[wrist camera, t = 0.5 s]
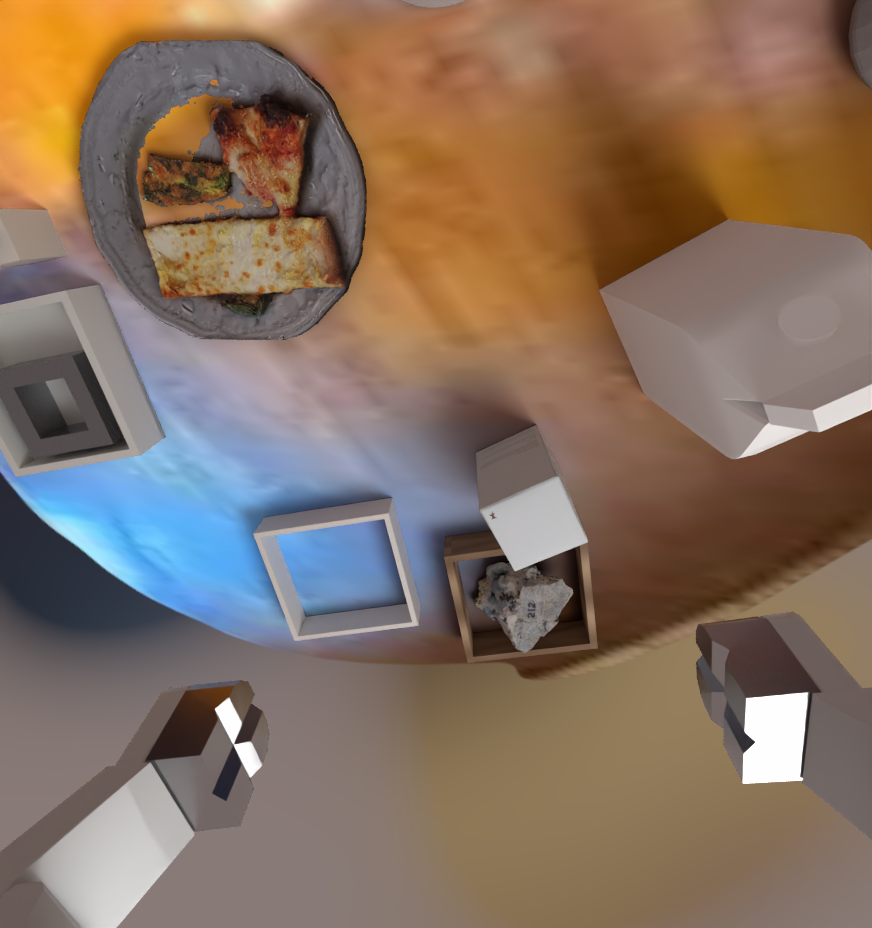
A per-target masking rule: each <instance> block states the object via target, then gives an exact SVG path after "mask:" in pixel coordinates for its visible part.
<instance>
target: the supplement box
mask: <svg viewBox="0 0 872 928" xmlns="http://www.w3.org/2000/svg"><path fill="white" fill-rule="evenodd" d="M476 467H477V483H478V498H479V511H480V513H481V514H482V516H483V518H484V519H485V521H486V523H487V524H488V526H489V528H490V530H491V531H492V533H493V535H494V536H495V538H496V540H497V541H498V543H499V545H500V546H501V548H502V550H503V552H504V553H505V555H506V557H507V559H508V560H509V562H510V564H511V566H512V568H513V569H514V571H517V570H520V569H522V568H525V567H527V566H530V565H532V564H535V563H537V562H539V561H542V560H544V559H547V558H550V557H552V556H554V555H557V554H559V553H562V552H564V551H567V550H570V549H572V548H575V547H577V546H580V545H582V544H585V543H587V542H588V539H587V537H586V534H585V532H584V529H583V527H582V524H581V522H580V520H579V517H578V515H577V512H576V510H575V507H574V505H573V502H572V500H571V497H570V494H569V491H568V489H567V486H566V484H565V481H564V479H563V477H562V475H561V473H560V471H559V469H558V466H557V464H556V462H555V460H554V458H553V456H552V454H551V452H550V450H549V448H548V446H547V444H546V442H545V440H544V438H543V436H542V434H541V432H540V430H539V428H538V426H537V425H535V426H533V427H530V428H528V429H526V430H524V431H522V432H519V433H517V434H515V435H513V436H511V437H509V438H506V439H504V440H502V441H500V442H498V443H496V444H494V445H491V446H489V447H487V448H485V449H483V450H481V451H479V452H476Z"/></svg>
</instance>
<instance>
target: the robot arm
mask: <svg viewBox="0 0 872 928" xmlns="http://www.w3.org/2000/svg"><path fill="white" fill-rule="evenodd" d="M402 1H404V2H406V3H409V4H412V5H416V6H422V7H432V8H433V7H445V6H450V5H454V4H457V3H460V2H463V1H465V0H402ZM696 643H697V645H698V647H699V649H700V651H701V653H702V656H701V657H700V658H699V659H698V661H697V662H696V669H697V680H698V685H699V689H700V694H701V697H702V700H703V702H704V705H705V707H706V709H707V712H708V714H709V716H710V718H711V720H712V721H713V722H715V723H716V724H718V725H719V726H721V727H722V728H723V729H724V747H725V749H726V751H727V752H728V755H729V757H730V759H731V761H732V762H733V765H734V766H735V768H736V771H737V773H738V774H739V776H740V778H741V780H742V782H743V783H757V782H775V781H793V780H802V783H803V784H804V785H805V786H807V787H808V788H809V789H811V790H812V791H813V792H814V793H815V794H817V795H818V796H819V797H820V798H821V799H823V800H824V801H825V802H826V803H828V804H829V805H830V806H831V807H833V808H834V809H835V810H836V811H837V812H839V813H840V814H841V815H842V816H844V817H845V818H846V819H847V820H848V821H850V822H851V823H852V824H853V825H854V826H856V827H857V828H858V829H859V830H861V831H862V832H863V833H865V834H866V835H867V836H868V837H869V838H870V839H872V688H862V687H861V686H860V685H859V684H858V683H857V682H856V681H855V679H854V678H853V677H852V676H851V675H850V674H849V672H848V671H847V670H846V669H845V668H844V666H843V665H842V664H841V663H840V662H839V661H838V659H837V658H836V657H835V656H834V655H833V654H832V652H831V651H830V650H829V649H828V648H827V647H826V645H825V644H824V643H823V642H822V641H821V639H820V638H819V637H818V636H817V635H816V634H815V632H814V631H813V630H812V629H811V628H810V627H809V626H808V624H807V623H806V622H805V621H804V620H803V618H802V617H801V616H800V615H798V614H796V613H795V612H786V613H779V614H772V615H765V616H761V617H751V618H743V619H736V620H728V621H720V622H712V623H705V624H698V626H697V629H696ZM254 695H255V694H254V692H253V690H252V688H251V686H250V684H249V682H248V681H242V680H238V681H228V682H217V683H207V684H196V685H192V686H181V687H170V688H168V689H167V690H165V691H164V692H162V693H161V694H160V696H159V698H158V699H157V701H156V702H155V704H154V706H153V707H152V709H151V710H150V712H149V713H148V715H147V716H146V718H145V720H144V721H143V723H142V724H141V726H140V727H139V729H138V731H137V732H136V734H135V735H134V737H133V738H132V740H131V742H130V743H129V745H128V746H127V748H126V749H125V751H124V753H123V754H122V756H121V757H120V759H119V760H118V762H117V763H116V765H115V766H109V767H106V768H105V769H104V770H102V771H101V772H100V773H99V774H97V775H96V776H95V777H94V778H92V779H91V780H90V781H89V782H87V783H86V784H85V785H84V786H82V787H81V788H80V789H79V790H77V791H76V792H75V793H73V794H72V795H71V796H70V797H69V798H67V799H66V800H65V801H63V802H62V803H61V804H60V805H58V806H57V807H56V808H55V809H53V810H52V811H51V812H50V813H48V814H47V815H46V816H45V817H43V818H42V819H41V820H40V821H38V822H37V823H36V824H35V825H33V826H32V827H31V828H29V829H28V830H27V831H26V832H25V833H23V834H22V835H21V836H19V837H18V838H17V839H16V840H14V841H13V842H12V843H11V844H9V845H8V846H7V847H6V848H4V849H3V850H2V851H1V852H0V928H117V926H118V925H119V924H120V923H121V922H122V920H123V919H124V918H125V917H126V916H127V914H128V913H129V912H130V911H131V910H132V909H133V907H134V906H135V905H136V904H137V903H138V901H139V900H140V899H141V898H142V897H143V896H144V894H145V893H146V892H147V891H148V890H149V888H150V887H151V886H152V885H153V884H154V882H155V881H156V880H157V879H158V878H159V876H160V875H161V874H162V873H163V872H164V871H165V869H166V868H167V867H168V866H169V865H170V863H171V862H172V861H173V860H174V859H175V857H176V856H177V855H178V854H179V853H180V851H181V850H182V849H183V848H184V847H185V846H186V844H187V843H188V842H189V841H190V840H191V838H192V837H193V836H194V834H195V833H194V831H204V830H212V829H221V828H229V827H237V826H240V825H241V822H242V819H243V817H244V814H245V811H246V809H247V806H248V803H249V800H250V798H251V795H252V793H253V790H254V788H253V785H252V782H251V779H250V777H251V776H252V775H253V774H254V773H255V772H256V771H257V770H258V769H259V768H260V767H261V766H262V765H263V762H264V759H265V756H266V753H267V750H268V740H269V729H268V724H267V720H266V718H265V715H264V713H263V711H262V710H260V709H259V708H257V707H255V706H254V705H253V704H251V702H252V700H253V697H254Z"/></svg>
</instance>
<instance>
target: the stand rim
mask: <svg viewBox="0 0 872 928" xmlns="http://www.w3.org/2000/svg"><path fill="white" fill-rule="evenodd" d="M579 520H580V518H579ZM580 522H581V521H580ZM581 524H582V523H581ZM582 527H583V526H582ZM584 532H585V531H584ZM586 537H587V536H586ZM575 550H576V560H577V569H578V578H579V587H580V596H581V605H582V615H583V620H581V621H572V622H564V623H557V625H556V626H554V627H553V628H552V629H551V630H550V631H549V632H548V633H547V634H546V635H545V636H544V637H543V636H541V637H540V638H539V640H538V641H537V642H536V644H535V645H534V647H533V648H532V649H530V650H529V651H528V652H526V653H523V652H522V651H519V650H517V649H516V648H515V646H514V645H512V642H511V640H510V639H509V637H508V636H507V635H506V634H505V633H504V632H503V630H497V631H489V632H481V633H473V632H472V627H471V623H470V618H469V613H468V609H467V604H466V599H465V595H464V590H463V585H462V581H461V576H460V572H459V567H458V562H457V561H464V560H471V559H479V558H486V557H493V556H501V555H505V553H504V552H503V550H502V548H501V546H500V545H499V543H498V541H497V540H496V538H495V536H494V535H493V533H492V531H484V532H477V533H470V534H463V535H456V536H449V537H445V546H444V560H445V564H446V569H447V573H448V578H449V582H450V587H451V591H452V595H453V600H454V604H455V609H456V613H457V617H458V622H459V626H460V631H461V635H462V640H463V644H464V648H465V653H466V657H467V662H468V663H471V662H480V661H489V660H498V659H507V658H515V657H524V656H533V655H542V654H551V653H560V652H568V651H577V650H586V649H595V648H598V647H597V636H596V626H595V616H594V606H593V595H592V585H591V575H590V565H589V555H588V544H587V543H585V544H582V545H580V546H577V547H575Z"/></svg>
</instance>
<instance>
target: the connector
mask: <svg viewBox="0 0 872 928" xmlns="http://www.w3.org/2000/svg"><path fill="white" fill-rule="evenodd" d="M64 256H68V255H67V253H66V250H65V248H64V246H63V244H62V241H61V239H60V237H59V235H58V232H57V230H56V228H55V226H54V223H53V221H52V219H51V217H50V214H49V212H48V210H34V209H0V267H8V266H18V265H28V264H34V263H38V262H42V261H47V260H51V259H56V258H60V257H64Z"/></svg>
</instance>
